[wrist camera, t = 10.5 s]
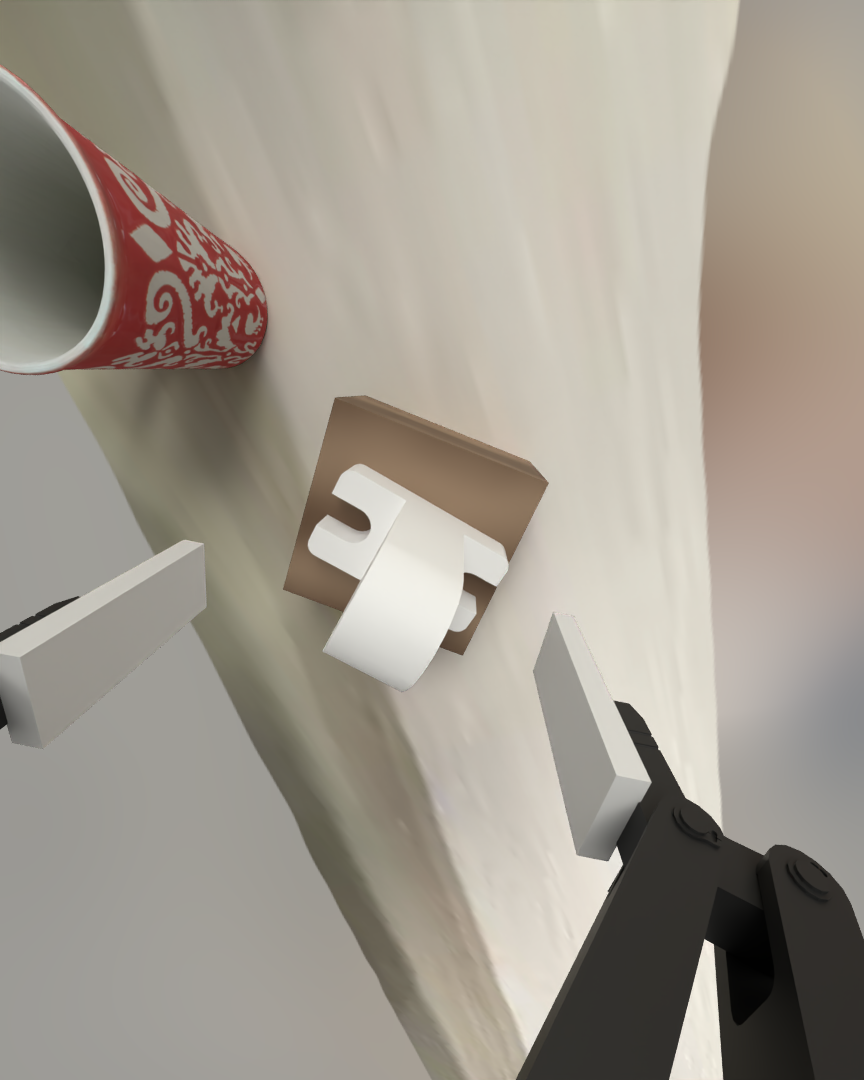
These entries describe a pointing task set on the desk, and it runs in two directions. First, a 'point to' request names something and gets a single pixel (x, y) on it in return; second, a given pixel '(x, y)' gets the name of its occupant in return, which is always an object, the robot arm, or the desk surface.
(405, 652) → the cable organizer
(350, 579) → the walnut block
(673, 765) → the desk surface
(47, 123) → the mug
